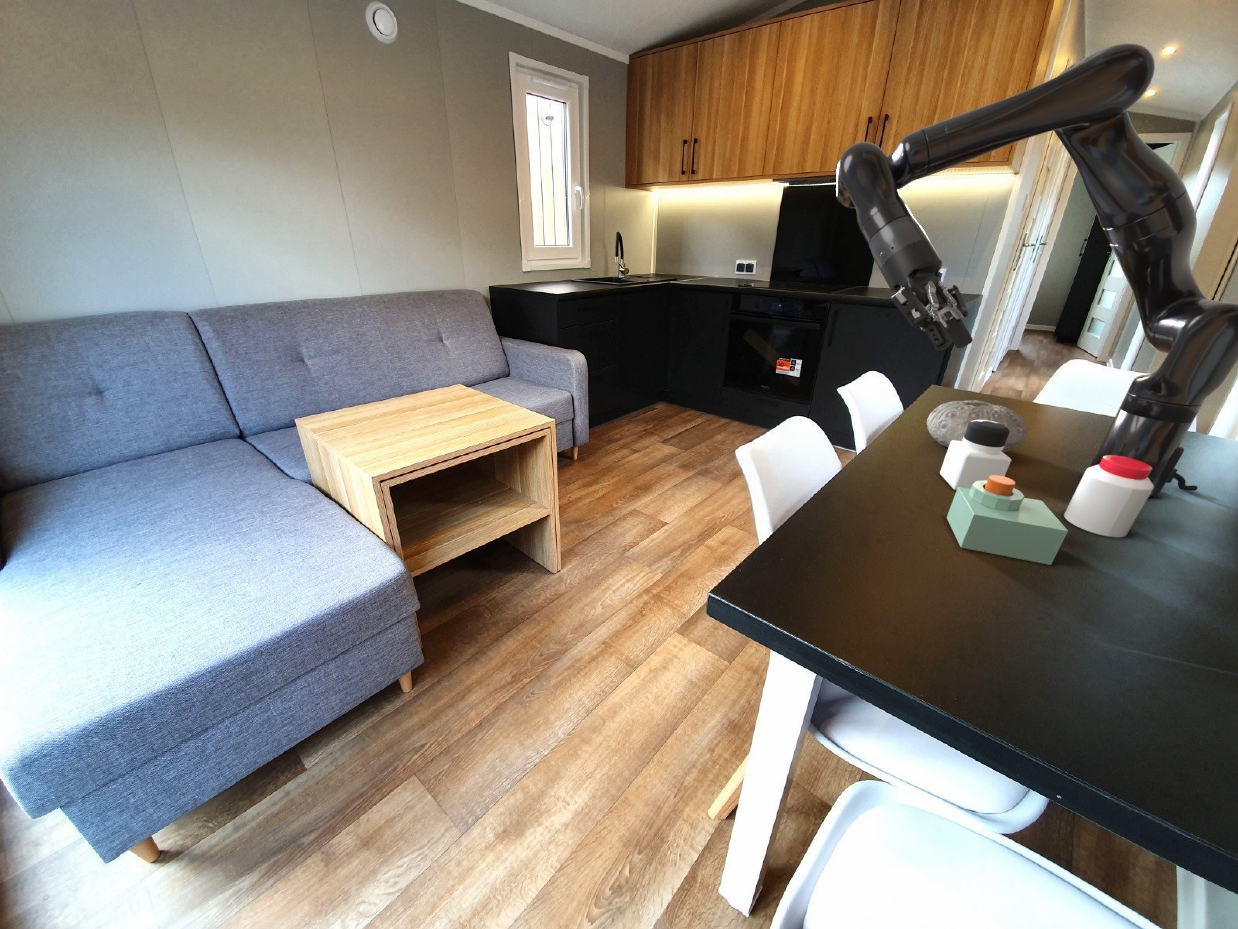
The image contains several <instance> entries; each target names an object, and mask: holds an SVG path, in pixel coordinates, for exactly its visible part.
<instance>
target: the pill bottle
mask: <svg viewBox="0 0 1238 929" xmlns="http://www.w3.org/2000/svg"><path fill="white" fill-rule="evenodd" d="M1151 470H1152V467H1151V466H1150V465H1148V464H1146V463H1144V462H1141V461H1138V460H1135V459H1132V458H1127V457H1123V456H1116V455H1105V456H1103V458H1102V460H1101V462H1100V464H1099V465H1095V466H1092V467H1090V466H1089V467H1087V468H1086V469H1085V471H1084V473H1083V475H1082V477H1081V479H1080V481H1079V484H1078V485H1077V487H1076V490H1075V491H1074V493H1073V495H1072V498H1071V499H1070V502H1069V503H1068V505H1067V507H1066V509H1065V511H1064V514H1063V518H1064V519H1065V520H1066V521H1067V522H1069V523H1070V524H1072V525H1074V526H1076V528H1080V529H1082V530H1084V531H1087V532H1089V533H1092V534H1096V535H1100V536H1104V537H1109V538H1123V537H1126V536H1127V535H1128V534H1129V532H1130V530H1131V529H1132V527H1133V526H1134V523H1135V522H1136V520H1137V518H1138V516H1139V515H1140V513H1141V511H1142V509H1143V508H1144V506H1145V504H1146V502H1147V500H1148V499H1149V495H1150V493H1151V492H1152V490H1153V488H1154V485H1153V484H1152V482H1151V481H1150V479H1149V478H1148V476H1149V474H1150V472H1151Z"/></svg>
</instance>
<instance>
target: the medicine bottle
mask: <svg viewBox="0 0 1238 929" xmlns="http://www.w3.org/2000/svg"><path fill="white" fill-rule="evenodd" d="M1009 433H1010V431H1009V429H1008V428H1007V427H1006V426H1004V425H1002V424H1000V423H997V422H993V421H988V420H974V421H971V422H969V423H968V426H967V429H966V432H965V434H964V437H963V440H962V441H955V440H952V441H951V442H950V445H949V448H948V447H947V448H948V449H947V451H946V454H945V456H944V459H943V462H942V465H941V468H940V471H939V475H940V476H941V477H942V478H943V479H944V481H946V483H948V485H949V486H950V488H952V489H953V490H954V491H957V489H958V487H962V488H968V489H971V487H972V485H973V483H974V482H976V481H982V480H987V481H988V478H989V476H991V475H999V476H1004V477H1006V476H1007V473H1008V470H1009V468H1010V465H1011V463H1012V459H1011V457H1009V455H1007V454H1006V453H1005V452H1004V453H1003V452H1002V451H1001V450H1003V448H1004V445H1005V443H1006V440H1007V438H1008V435H1009Z"/></svg>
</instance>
